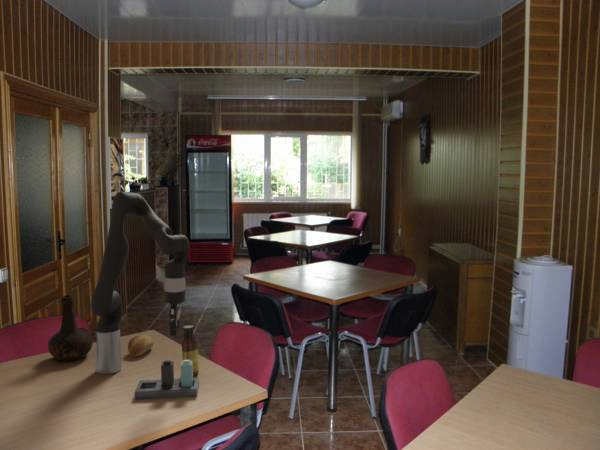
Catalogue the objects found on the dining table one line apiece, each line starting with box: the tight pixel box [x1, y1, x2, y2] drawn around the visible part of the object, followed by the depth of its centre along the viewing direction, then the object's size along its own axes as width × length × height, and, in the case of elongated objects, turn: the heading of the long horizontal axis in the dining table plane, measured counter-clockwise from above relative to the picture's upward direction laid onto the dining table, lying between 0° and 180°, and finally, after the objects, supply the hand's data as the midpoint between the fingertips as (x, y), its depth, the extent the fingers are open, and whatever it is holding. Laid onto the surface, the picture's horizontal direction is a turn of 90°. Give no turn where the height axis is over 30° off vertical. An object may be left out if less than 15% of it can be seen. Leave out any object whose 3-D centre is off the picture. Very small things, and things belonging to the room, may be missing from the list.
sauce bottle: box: [181, 324, 200, 377], centre depth 204 cm, size 7×6×20 cm
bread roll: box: [127, 334, 154, 358], centre depth 230 cm, size 10×15×8 cm, turn 172°
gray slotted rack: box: [134, 359, 200, 401], centre depth 187 cm, size 22×10×12 cm, turn 97°
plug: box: [180, 359, 194, 387], centre depth 188 cm, size 4×4×12 cm
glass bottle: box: [47, 294, 94, 362], centre depth 222 cm, size 18×18×28 cm
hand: (174, 331), depth 188 cm, fingers open, 8 cm apart
